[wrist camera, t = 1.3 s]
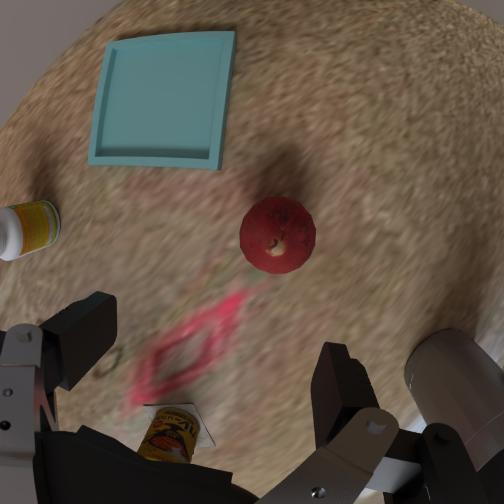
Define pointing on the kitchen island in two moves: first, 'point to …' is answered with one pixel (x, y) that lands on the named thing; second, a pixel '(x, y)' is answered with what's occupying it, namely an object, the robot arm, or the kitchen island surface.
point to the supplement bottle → (27, 228)
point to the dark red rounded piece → (277, 235)
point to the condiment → (173, 433)
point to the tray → (163, 101)
